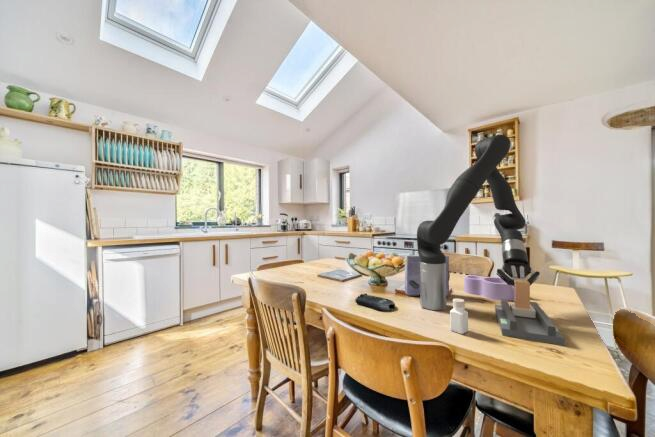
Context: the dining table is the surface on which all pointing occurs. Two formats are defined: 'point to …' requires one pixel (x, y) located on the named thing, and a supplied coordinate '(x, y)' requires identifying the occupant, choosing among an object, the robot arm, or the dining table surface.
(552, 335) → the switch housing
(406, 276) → the cake pan box
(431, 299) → the robot arm
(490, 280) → the lavender double ring holder
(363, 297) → the electronic device
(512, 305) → the switch lever
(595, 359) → the dining table surface
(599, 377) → the dining table surface
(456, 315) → the salt shaker
